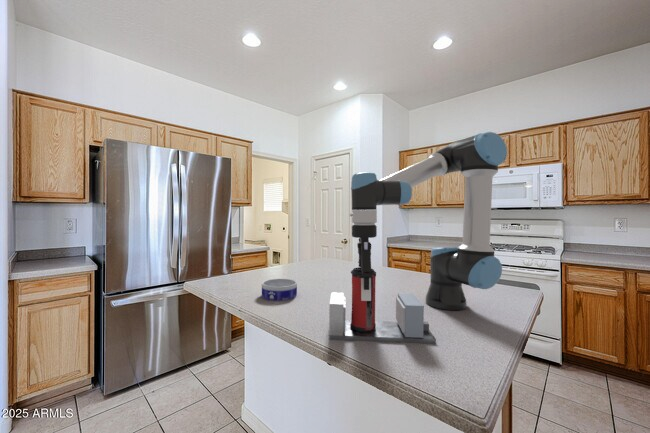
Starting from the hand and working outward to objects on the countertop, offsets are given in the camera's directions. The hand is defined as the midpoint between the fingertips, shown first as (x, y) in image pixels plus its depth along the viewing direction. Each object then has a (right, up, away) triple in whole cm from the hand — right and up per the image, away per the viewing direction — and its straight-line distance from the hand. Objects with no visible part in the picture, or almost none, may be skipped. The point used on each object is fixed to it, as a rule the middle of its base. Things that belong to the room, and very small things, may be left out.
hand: (364, 293), depth 87 cm
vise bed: (+4, -12, 0) cm, 13 cm away
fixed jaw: (-8, -10, 0) cm, 13 cm away
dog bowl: (-32, -11, +37) cm, 50 cm away
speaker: (0, -11, 0) cm, 11 cm away
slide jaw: (+15, -10, -1) cm, 18 cm away
